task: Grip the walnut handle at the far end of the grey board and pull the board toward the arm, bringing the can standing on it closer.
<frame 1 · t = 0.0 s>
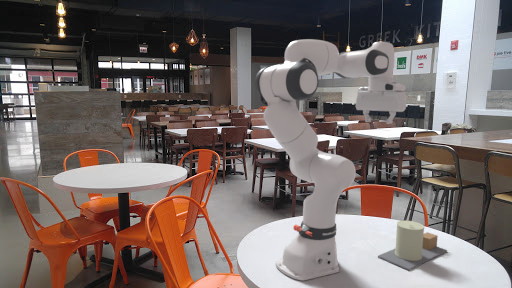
hand: (378, 122, 134), 48 cm above the table, tool pointing down, fingers open, 8 cm apart
can: (408, 255, 127), resting on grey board
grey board: (413, 247, 129), point 3 cm above the table, slide at 0.4 cm, touching can
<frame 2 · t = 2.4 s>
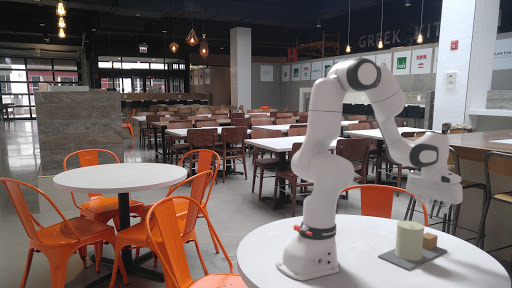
hand: (431, 209, 133), 15 cm above the table, tool pointing down, fingers open, 8 cm apart
nothing on the table moved.
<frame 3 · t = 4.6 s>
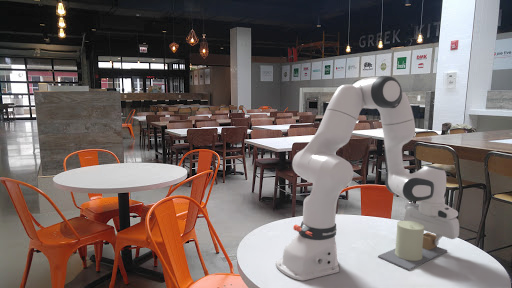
hand: (428, 242, 135), 2 cm above the table, tool pointing down, fingers closed on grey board, 4 cm apart
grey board: (413, 247, 129), point 3 cm above the table, slide at 0.3 cm, touching can, gripper
everything else where it was.
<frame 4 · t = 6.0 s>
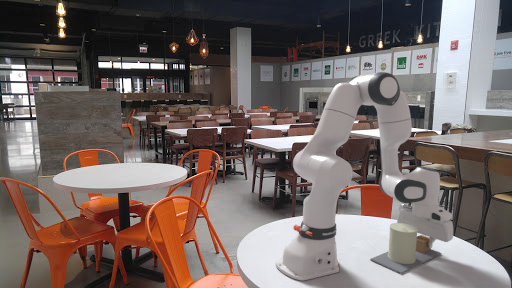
hand: (422, 244, 132), 2 cm above the table, tool pointing down, fingers closed on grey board, 4 cm apart
can: (401, 258, 124), resting on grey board
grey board: (407, 250, 126), point 3 cm above the table, slide at 4.7 cm, touching can, gripper
everything else where it was.
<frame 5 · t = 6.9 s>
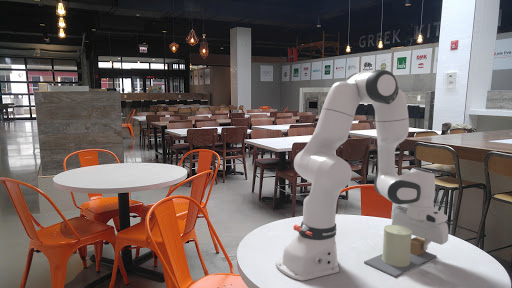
hand: (417, 247, 130), 2 cm above the table, tool pointing down, fingers closed on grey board, 4 cm apart
can: (395, 261, 122), resting on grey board
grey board: (401, 253, 124), point 3 cm above the table, slide at 8.2 cm, touching can, gripper
everything else where it was.
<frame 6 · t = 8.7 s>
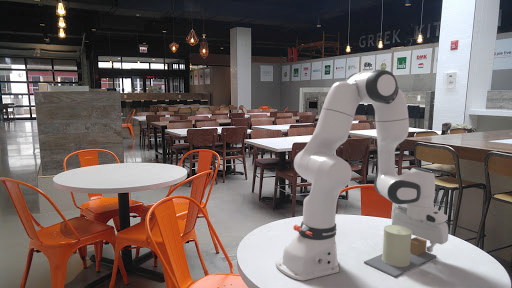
hand: (417, 247, 130), 2 cm above the table, tool pointing down, fingers open, 8 cm apart
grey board: (401, 253, 124), point 3 cm above the table, slide at 8.3 cm, touching can
everything else where it was.
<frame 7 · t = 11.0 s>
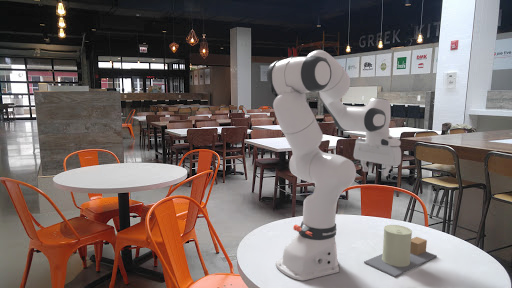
hand: (374, 173, 140), 27 cm above the table, tool pointing down, fingers open, 8 cm apart
nothing on the table moved.
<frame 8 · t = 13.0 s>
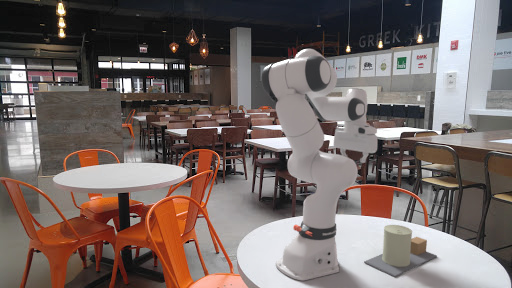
hand: (353, 160, 146), 31 cm above the table, tool pointing down, fingers open, 8 cm apart
nothing on the table moved.
at the end: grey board slide at 8.1 cm; can inside the target area (0.0 cm from its centre), resting on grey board; can tilted 0° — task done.
